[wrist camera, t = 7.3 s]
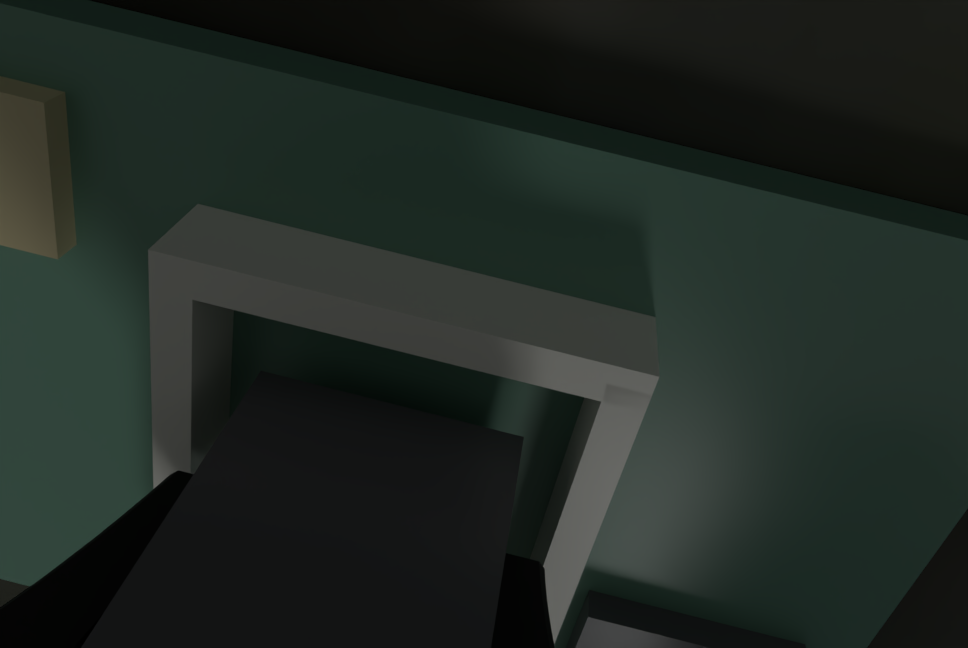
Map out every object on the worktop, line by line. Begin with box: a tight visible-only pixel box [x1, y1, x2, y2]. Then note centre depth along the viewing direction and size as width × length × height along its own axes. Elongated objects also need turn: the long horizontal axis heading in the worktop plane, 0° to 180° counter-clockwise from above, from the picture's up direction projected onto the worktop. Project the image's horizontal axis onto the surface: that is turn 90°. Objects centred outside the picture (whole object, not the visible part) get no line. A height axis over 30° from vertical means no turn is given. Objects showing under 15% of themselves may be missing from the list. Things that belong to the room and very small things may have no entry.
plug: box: [81, 371, 524, 648], centre depth 11 cm, size 4×5×5 cm
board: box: [0, 0, 968, 648], centre depth 14 cm, size 18×12×2 cm, turn 79°
